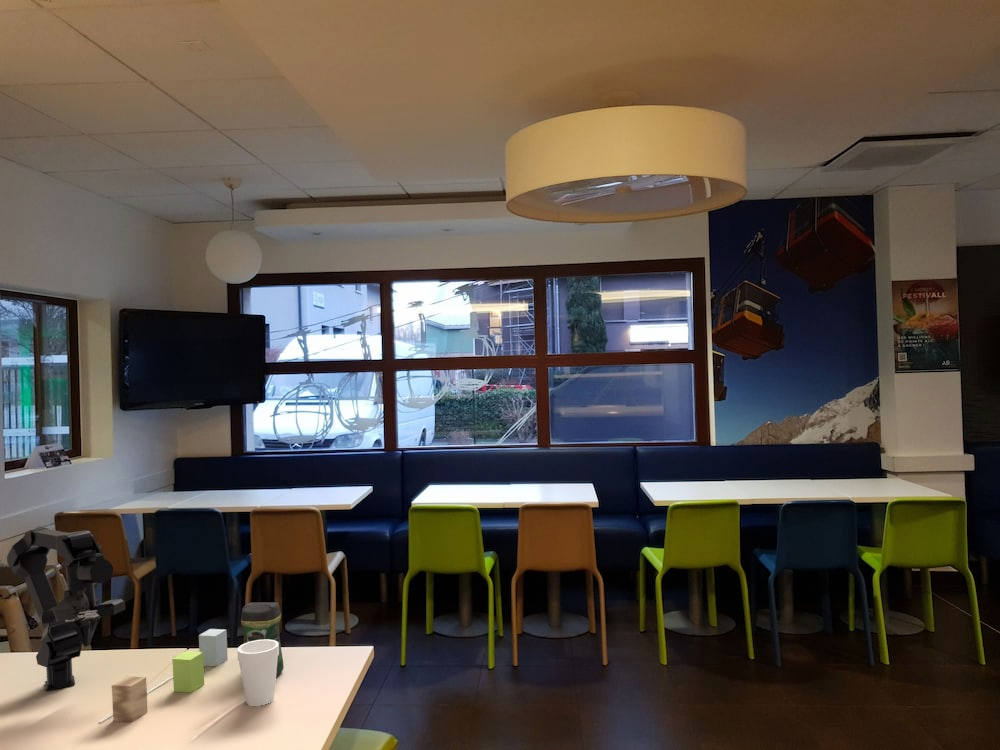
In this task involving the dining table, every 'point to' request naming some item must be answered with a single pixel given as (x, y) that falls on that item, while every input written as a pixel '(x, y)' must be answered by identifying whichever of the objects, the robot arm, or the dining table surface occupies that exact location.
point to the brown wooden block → (129, 698)
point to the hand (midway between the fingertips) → (86, 646)
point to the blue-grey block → (213, 646)
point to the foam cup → (258, 670)
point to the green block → (188, 671)
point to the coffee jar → (263, 625)
